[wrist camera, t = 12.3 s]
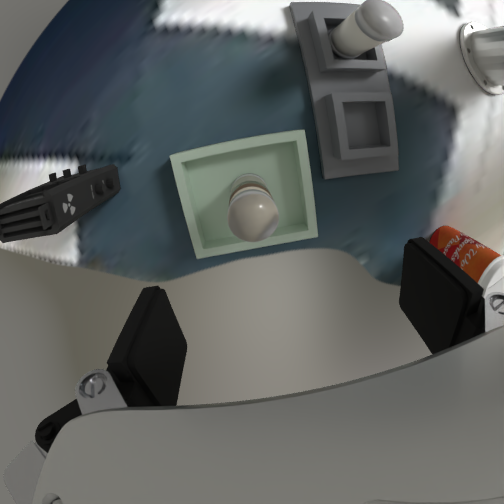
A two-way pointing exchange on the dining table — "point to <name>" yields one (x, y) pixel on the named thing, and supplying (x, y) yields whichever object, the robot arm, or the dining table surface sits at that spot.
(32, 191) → the geiger counter
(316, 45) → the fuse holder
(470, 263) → the paper cup
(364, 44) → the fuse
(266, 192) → the fuse
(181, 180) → the parts tray
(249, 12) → the dining table surface
